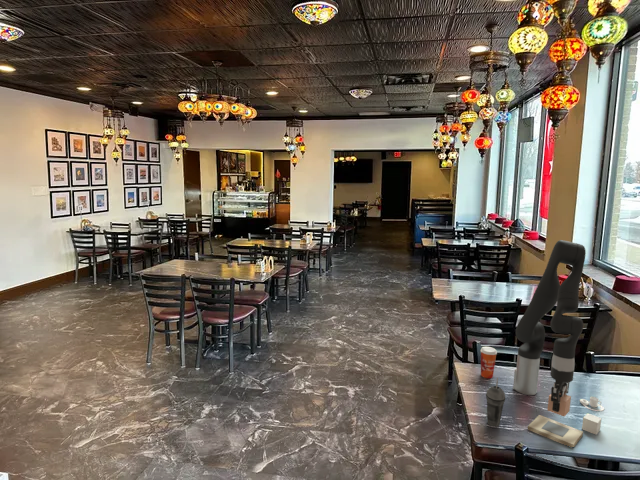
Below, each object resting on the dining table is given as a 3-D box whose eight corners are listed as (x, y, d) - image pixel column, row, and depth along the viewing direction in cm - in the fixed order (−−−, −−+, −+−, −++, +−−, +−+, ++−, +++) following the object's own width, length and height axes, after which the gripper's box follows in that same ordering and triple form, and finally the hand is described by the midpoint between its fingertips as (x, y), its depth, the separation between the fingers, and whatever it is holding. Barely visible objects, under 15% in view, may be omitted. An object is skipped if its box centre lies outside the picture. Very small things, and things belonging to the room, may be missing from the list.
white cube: (581, 429, 169) (583, 417, 168) (585, 424, 172) (587, 413, 172) (596, 435, 165) (597, 423, 165) (600, 430, 169) (601, 418, 168)
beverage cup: (502, 420, 174) (506, 374, 171) (503, 430, 167) (508, 382, 164) (483, 416, 176) (487, 371, 173) (483, 426, 170) (487, 378, 167)
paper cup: (480, 378, 210) (482, 351, 208) (477, 371, 218) (479, 345, 216) (497, 380, 209) (499, 352, 207) (493, 373, 217) (495, 346, 215)
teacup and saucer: (576, 403, 189) (577, 394, 189) (588, 400, 192) (589, 391, 192) (595, 413, 181) (596, 404, 181) (608, 410, 185) (609, 401, 184)
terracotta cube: (547, 410, 165) (548, 395, 164) (552, 405, 169) (554, 390, 168) (564, 416, 161) (566, 401, 160) (569, 410, 165) (571, 396, 164)
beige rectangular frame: (527, 429, 168) (528, 425, 168) (539, 418, 176) (539, 414, 176) (572, 448, 157) (573, 444, 156) (582, 435, 165) (583, 431, 165)
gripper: (558, 358, 170) (554, 398, 173) (545, 368, 160) (541, 410, 163) (579, 364, 165) (575, 405, 167) (567, 375, 155) (563, 418, 157)
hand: (558, 407), depth 165 cm, fingers closed on terracotta cube, 6 cm apart
